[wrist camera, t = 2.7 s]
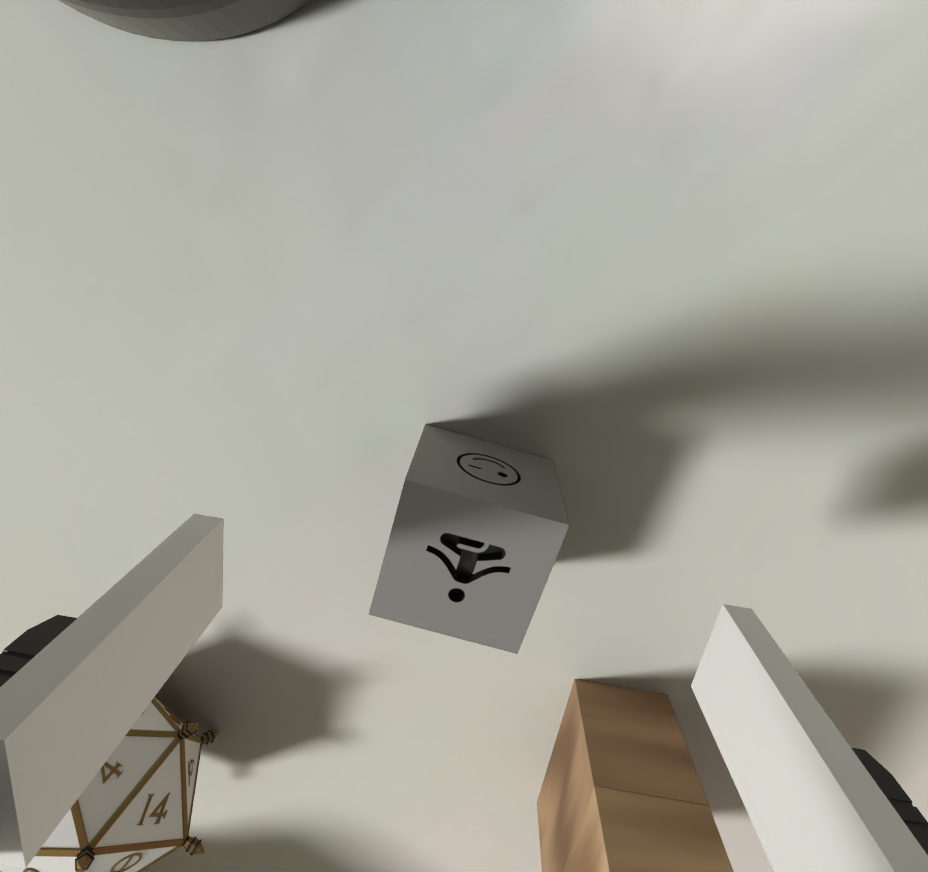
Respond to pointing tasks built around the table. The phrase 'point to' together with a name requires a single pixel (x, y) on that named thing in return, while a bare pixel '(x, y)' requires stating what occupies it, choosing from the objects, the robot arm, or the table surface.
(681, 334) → the table surface
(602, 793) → the tower top
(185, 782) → the game die
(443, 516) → the dice cube
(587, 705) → the tower base
